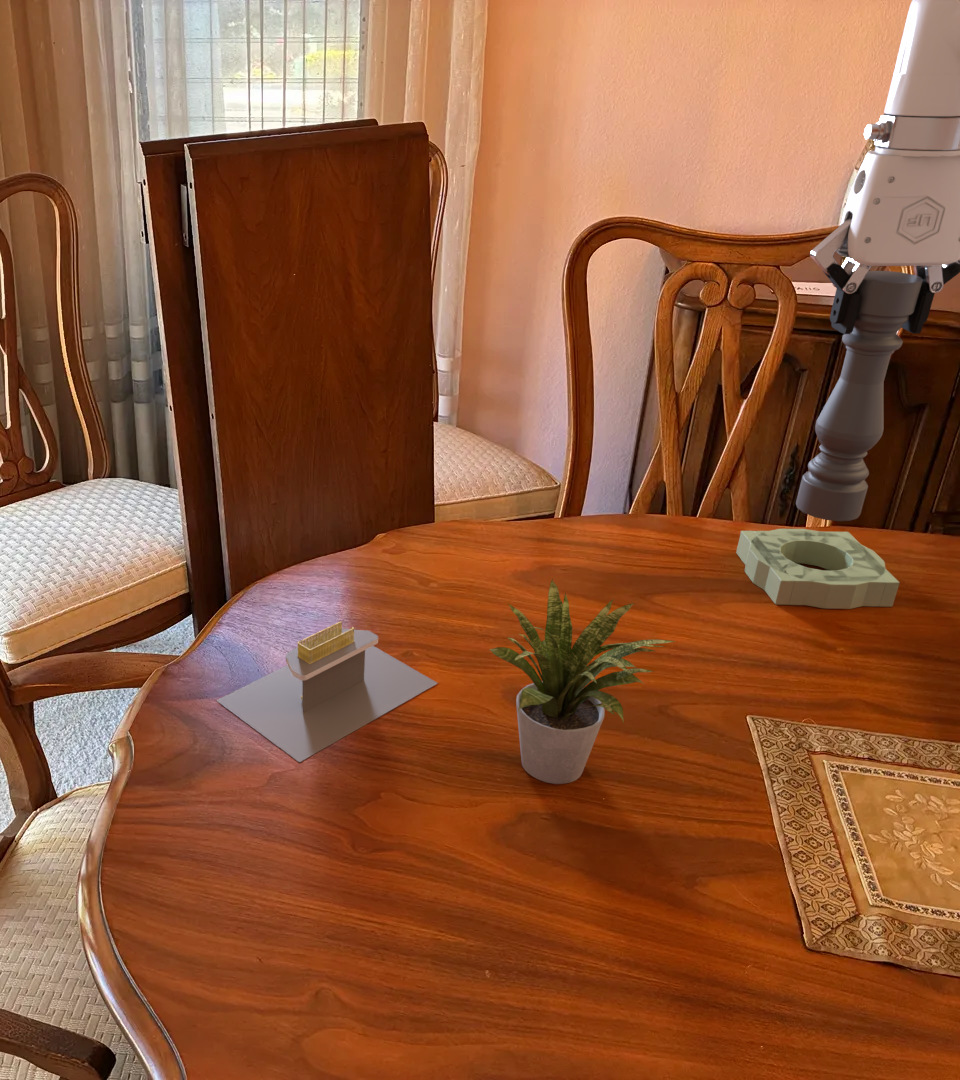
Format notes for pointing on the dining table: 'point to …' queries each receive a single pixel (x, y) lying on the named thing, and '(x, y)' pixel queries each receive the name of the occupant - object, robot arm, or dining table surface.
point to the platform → (325, 691)
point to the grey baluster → (857, 399)
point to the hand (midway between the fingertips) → (875, 328)
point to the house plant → (568, 688)
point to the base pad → (788, 583)
